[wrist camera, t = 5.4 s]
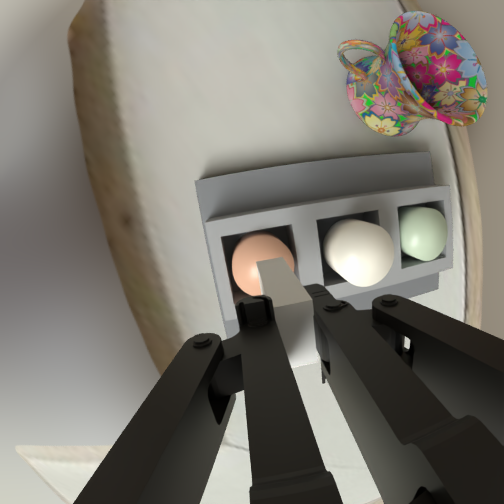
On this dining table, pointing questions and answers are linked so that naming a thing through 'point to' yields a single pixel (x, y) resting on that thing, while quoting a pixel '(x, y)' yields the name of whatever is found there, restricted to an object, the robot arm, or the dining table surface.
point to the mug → (416, 77)
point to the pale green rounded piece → (422, 232)
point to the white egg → (358, 251)
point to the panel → (323, 220)
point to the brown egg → (256, 258)
